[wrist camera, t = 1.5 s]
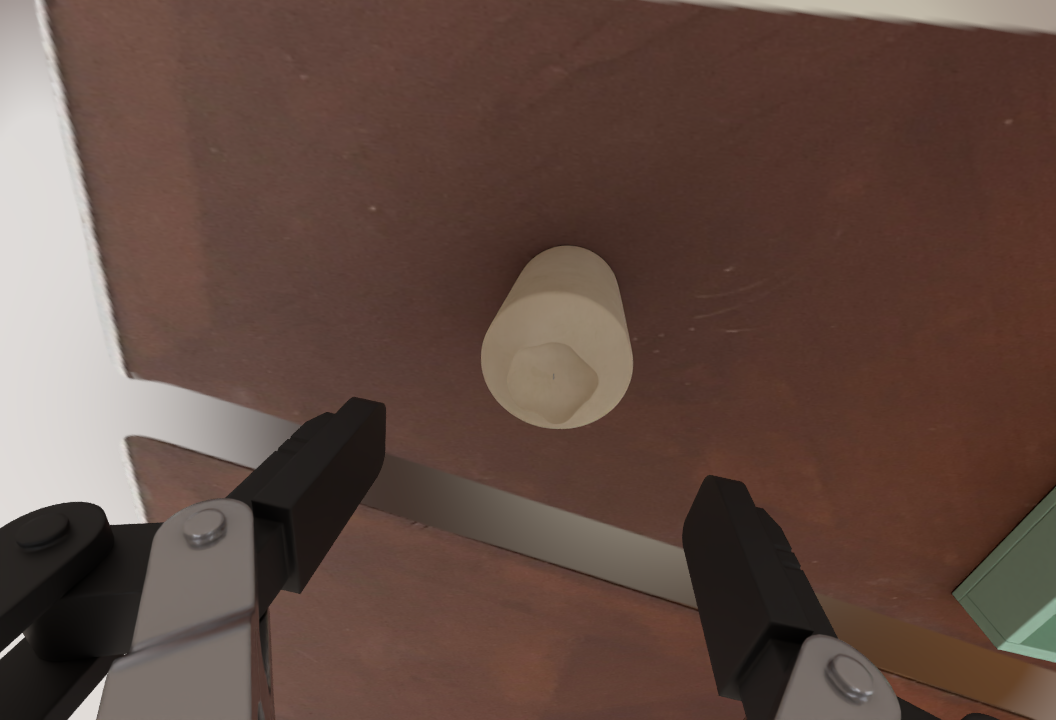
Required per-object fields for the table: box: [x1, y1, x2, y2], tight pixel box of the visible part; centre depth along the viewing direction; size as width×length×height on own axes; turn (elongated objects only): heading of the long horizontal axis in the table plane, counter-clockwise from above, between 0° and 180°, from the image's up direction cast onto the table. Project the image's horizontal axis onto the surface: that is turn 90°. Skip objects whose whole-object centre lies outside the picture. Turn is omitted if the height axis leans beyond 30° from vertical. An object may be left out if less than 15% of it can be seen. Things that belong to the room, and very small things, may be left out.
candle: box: [481, 246, 633, 429], centre depth 19 cm, size 6×6×10 cm
